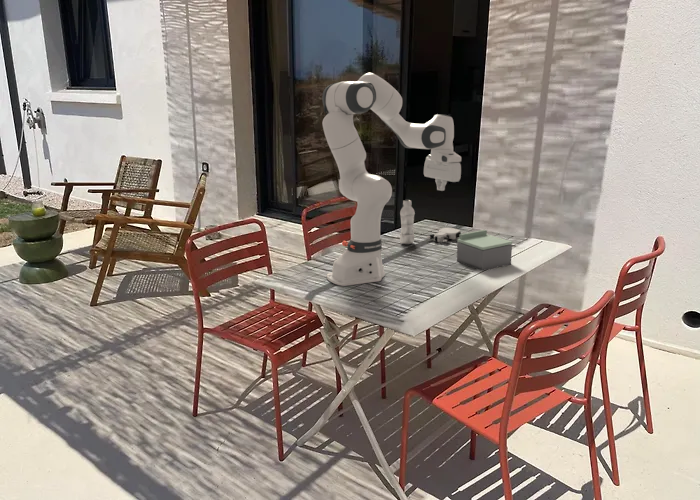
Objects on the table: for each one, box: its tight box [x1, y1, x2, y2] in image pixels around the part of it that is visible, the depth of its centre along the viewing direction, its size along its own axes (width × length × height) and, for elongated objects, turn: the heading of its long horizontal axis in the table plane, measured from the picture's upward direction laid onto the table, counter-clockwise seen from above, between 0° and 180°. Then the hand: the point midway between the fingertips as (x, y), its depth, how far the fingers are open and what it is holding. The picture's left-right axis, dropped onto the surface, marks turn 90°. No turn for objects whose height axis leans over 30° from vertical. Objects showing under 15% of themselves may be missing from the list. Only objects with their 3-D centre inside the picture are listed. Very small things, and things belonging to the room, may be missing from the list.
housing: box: [456, 242, 513, 272], centre depth 224 cm, size 15×15×8 cm
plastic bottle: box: [399, 199, 416, 245], centre depth 252 cm, size 6×7×20 cm
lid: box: [456, 229, 513, 250], centre depth 222 cm, size 15×15×3 cm
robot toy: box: [426, 226, 466, 243], centre depth 259 cm, size 12×4×15 cm
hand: (440, 190), depth 228 cm, fingers closed
